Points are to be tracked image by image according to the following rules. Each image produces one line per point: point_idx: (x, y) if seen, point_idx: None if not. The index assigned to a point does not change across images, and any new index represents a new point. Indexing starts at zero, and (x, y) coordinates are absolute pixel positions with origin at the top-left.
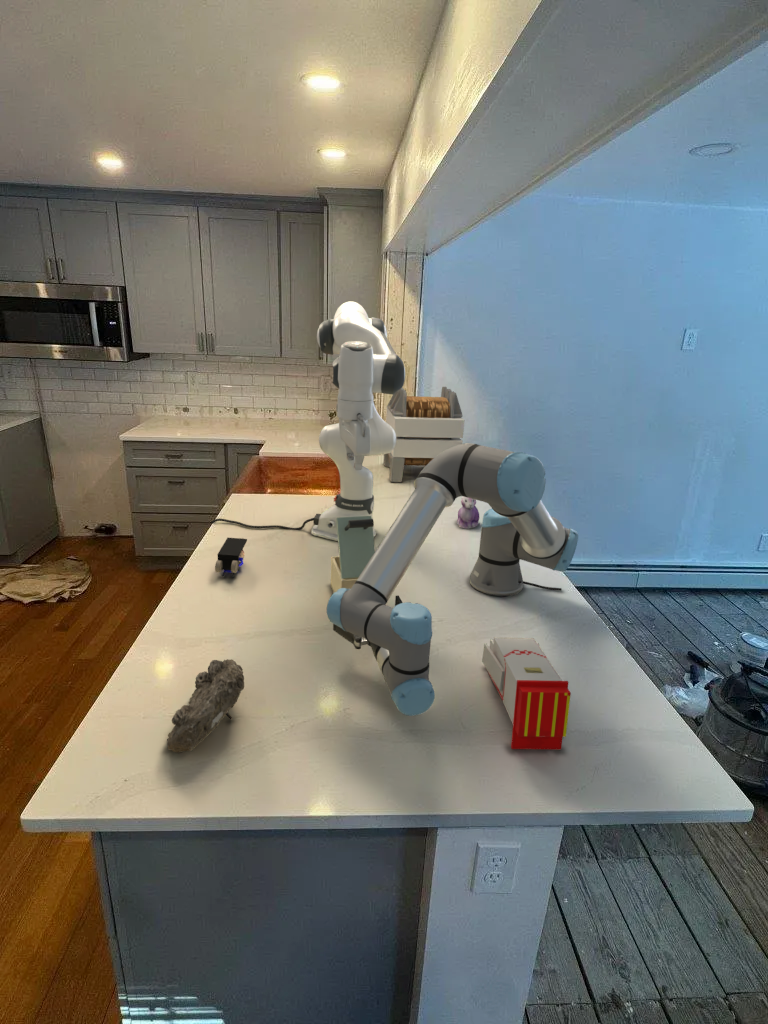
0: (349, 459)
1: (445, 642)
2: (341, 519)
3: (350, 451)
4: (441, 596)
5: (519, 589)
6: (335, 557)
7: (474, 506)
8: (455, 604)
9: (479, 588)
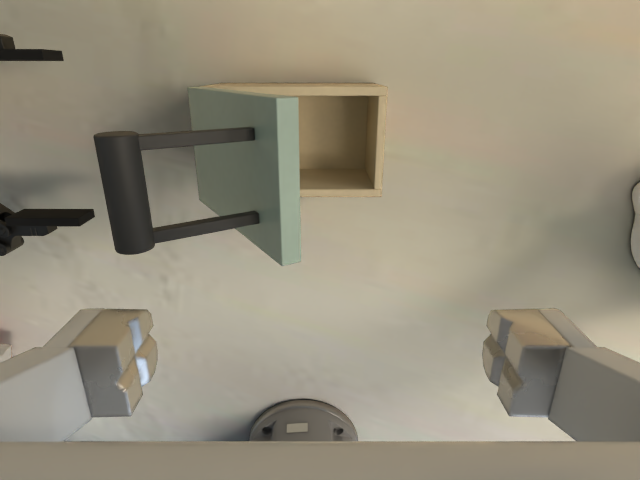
0: (492, 328)
1: (83, 278)
2: (271, 120)
3: (577, 401)
4: (270, 330)
5: None
6: (378, 101)
7: None
8: (231, 344)
9: (276, 408)
